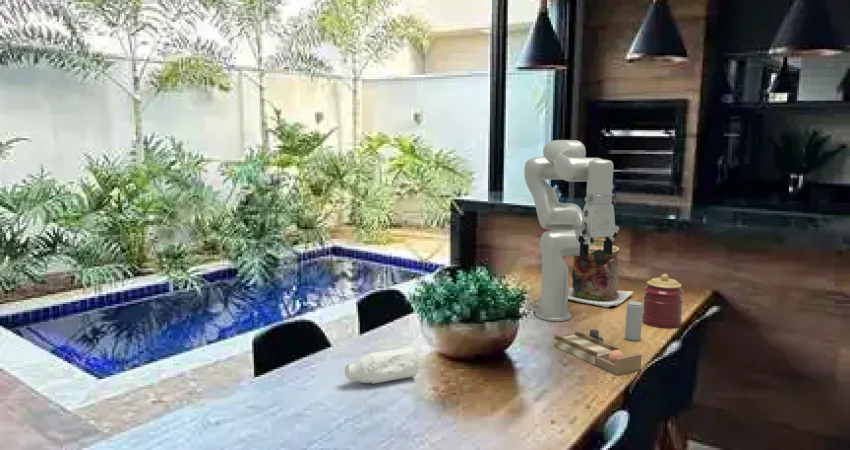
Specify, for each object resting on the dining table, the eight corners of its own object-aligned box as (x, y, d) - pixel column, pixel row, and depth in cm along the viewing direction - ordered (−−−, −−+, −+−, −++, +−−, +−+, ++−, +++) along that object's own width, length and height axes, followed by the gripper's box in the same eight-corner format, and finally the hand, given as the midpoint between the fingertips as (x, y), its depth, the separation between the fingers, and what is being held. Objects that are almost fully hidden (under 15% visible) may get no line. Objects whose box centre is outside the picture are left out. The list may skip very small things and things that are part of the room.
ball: (615, 369, 181) (617, 354, 180) (604, 363, 185) (605, 349, 184) (627, 366, 183) (628, 352, 182) (616, 361, 187) (617, 346, 186)
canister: (640, 325, 223) (643, 275, 220) (643, 315, 235) (646, 268, 232) (681, 330, 218) (684, 279, 216) (681, 320, 230) (685, 271, 227)
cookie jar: (577, 287, 276) (581, 213, 271) (634, 296, 262) (639, 218, 257) (552, 299, 256) (556, 219, 252) (613, 310, 242) (618, 225, 237)
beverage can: (641, 341, 206) (643, 305, 204) (625, 340, 207) (628, 304, 205) (639, 337, 211) (641, 301, 209) (624, 336, 211) (626, 300, 210)
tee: (580, 338, 209) (580, 329, 208) (594, 335, 211) (594, 326, 211) (593, 343, 203) (593, 334, 203) (607, 341, 206) (608, 332, 206)
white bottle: (341, 381, 171) (341, 353, 170) (406, 370, 179) (406, 343, 178) (351, 392, 164) (351, 362, 163) (418, 380, 172) (419, 352, 171)
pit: (594, 364, 185) (595, 349, 185) (617, 359, 189) (618, 345, 189) (617, 375, 178) (618, 359, 177) (640, 369, 182) (641, 354, 181)
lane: (553, 345, 201) (554, 334, 200) (576, 341, 205) (576, 330, 205) (594, 364, 185) (595, 352, 185) (617, 359, 189) (618, 348, 189)
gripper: (585, 202, 190) (582, 259, 193) (628, 200, 198) (625, 255, 201) (568, 200, 197) (566, 255, 199) (610, 197, 205) (607, 250, 207)
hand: (595, 255), depth 200 cm, fingers open, 9 cm apart
